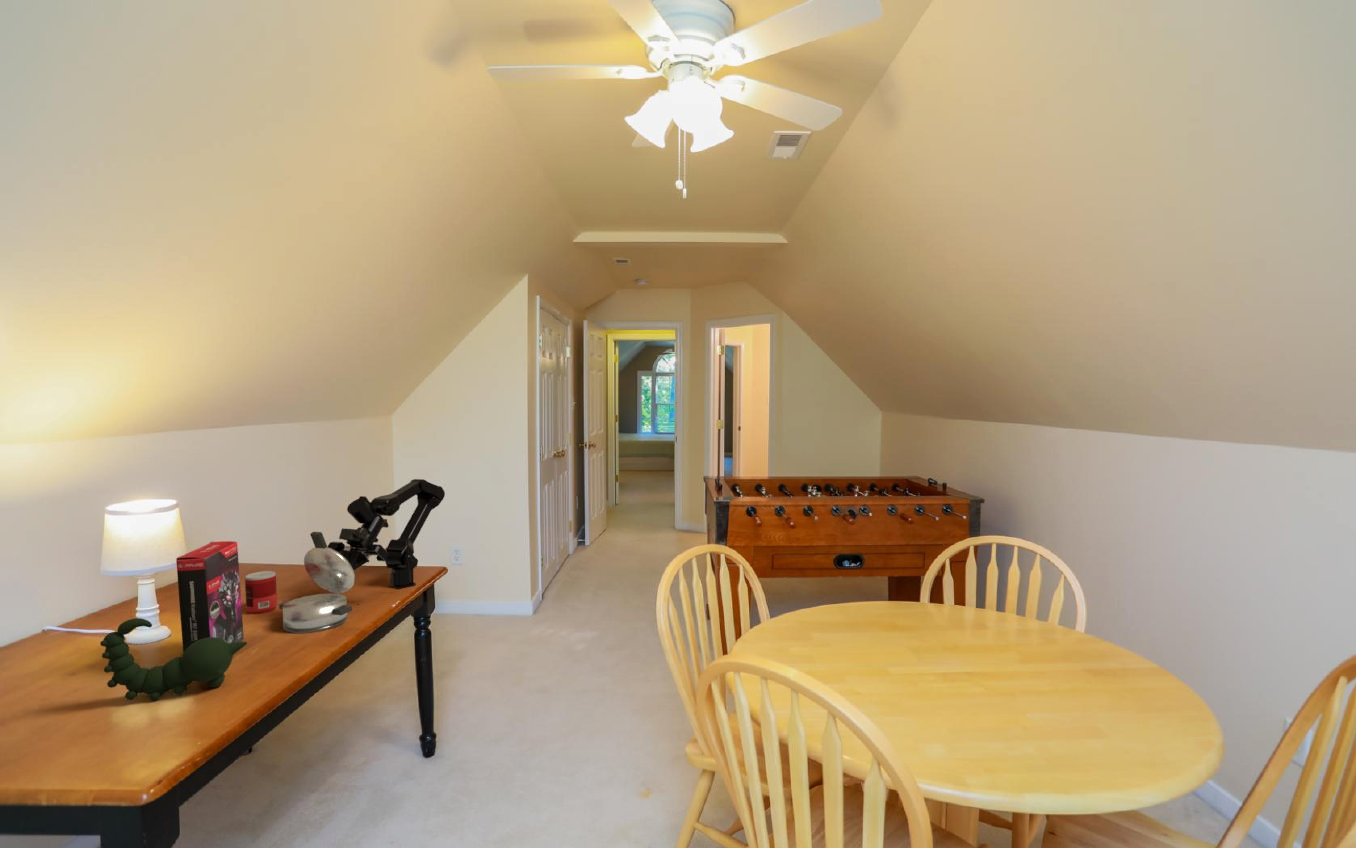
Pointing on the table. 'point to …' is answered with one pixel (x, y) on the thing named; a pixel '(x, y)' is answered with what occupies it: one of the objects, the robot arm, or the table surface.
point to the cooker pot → (314, 613)
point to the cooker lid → (328, 566)
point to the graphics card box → (210, 593)
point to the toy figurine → (196, 664)
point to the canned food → (261, 592)
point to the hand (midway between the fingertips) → (343, 575)
